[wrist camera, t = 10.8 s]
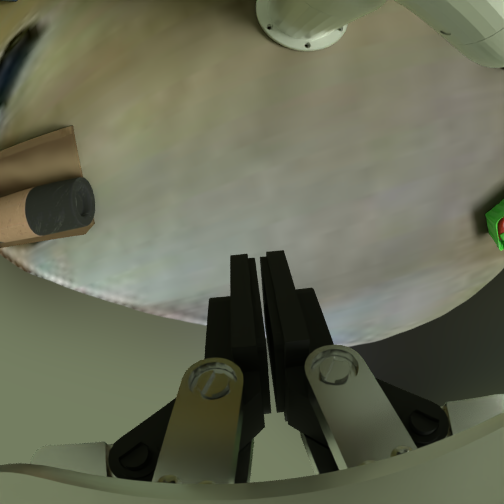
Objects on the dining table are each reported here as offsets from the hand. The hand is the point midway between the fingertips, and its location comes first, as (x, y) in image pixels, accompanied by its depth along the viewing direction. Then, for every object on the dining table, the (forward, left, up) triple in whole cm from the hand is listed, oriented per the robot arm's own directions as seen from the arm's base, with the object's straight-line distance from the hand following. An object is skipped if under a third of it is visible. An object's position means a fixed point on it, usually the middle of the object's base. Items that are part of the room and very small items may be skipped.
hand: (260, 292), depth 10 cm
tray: (+2, -34, -35) cm, 49 cm away
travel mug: (+5, -22, -31) cm, 38 cm away
